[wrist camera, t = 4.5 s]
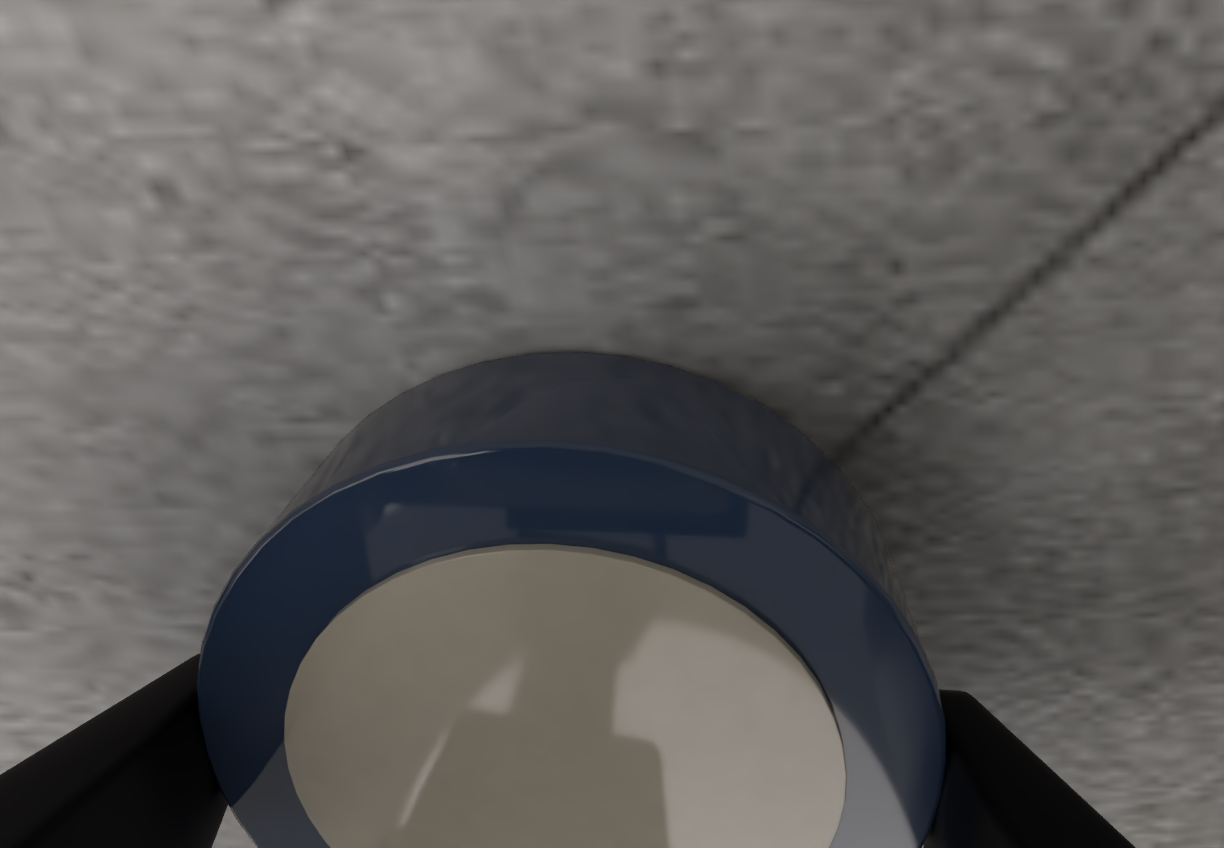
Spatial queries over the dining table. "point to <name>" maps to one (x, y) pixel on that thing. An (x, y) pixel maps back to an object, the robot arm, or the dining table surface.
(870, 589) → the navy jar lid
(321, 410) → the dining table surface
